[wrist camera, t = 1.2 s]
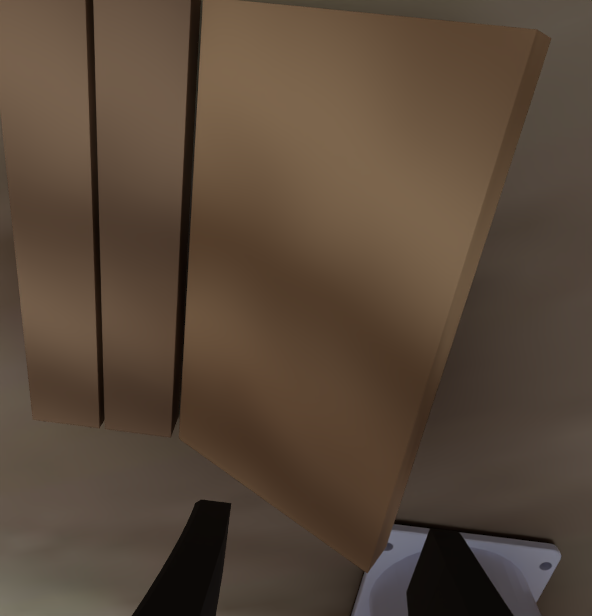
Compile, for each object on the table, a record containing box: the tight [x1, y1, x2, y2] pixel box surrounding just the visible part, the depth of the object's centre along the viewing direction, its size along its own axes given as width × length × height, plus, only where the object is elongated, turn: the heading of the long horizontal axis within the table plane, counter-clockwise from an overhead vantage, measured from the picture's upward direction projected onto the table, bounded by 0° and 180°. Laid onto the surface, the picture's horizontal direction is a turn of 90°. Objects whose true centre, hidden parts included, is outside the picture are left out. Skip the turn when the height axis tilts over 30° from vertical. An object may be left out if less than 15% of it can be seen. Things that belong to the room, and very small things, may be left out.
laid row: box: [0, 0, 201, 437], centre depth 16 cm, size 14×5×1 cm, turn 172°
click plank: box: [179, 0, 551, 573], centre depth 14 cm, size 14×8×1 cm
